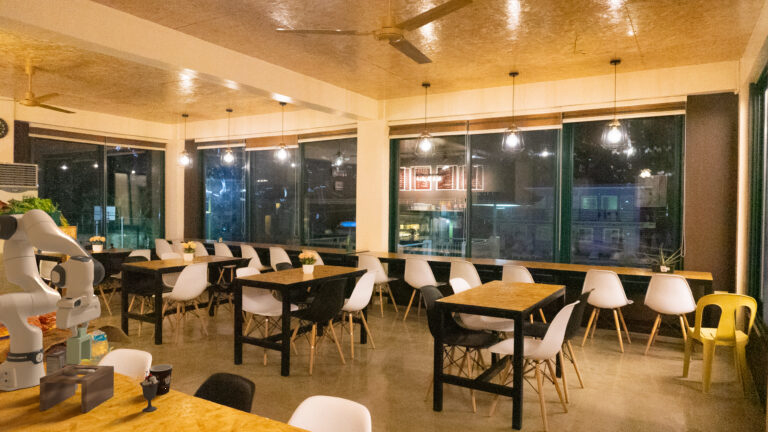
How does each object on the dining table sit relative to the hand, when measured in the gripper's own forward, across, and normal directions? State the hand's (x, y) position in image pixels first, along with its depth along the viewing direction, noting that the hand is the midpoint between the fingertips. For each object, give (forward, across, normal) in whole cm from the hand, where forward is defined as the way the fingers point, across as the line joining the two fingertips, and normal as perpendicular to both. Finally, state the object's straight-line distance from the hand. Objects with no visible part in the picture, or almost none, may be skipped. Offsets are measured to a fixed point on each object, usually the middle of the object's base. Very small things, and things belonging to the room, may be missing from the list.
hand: (79, 334), depth 187 cm
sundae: (+26, +3, +30) cm, 40 cm away
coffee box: (+27, -10, -14) cm, 32 cm away
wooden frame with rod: (+26, 0, 0) cm, 26 cm away
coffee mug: (+26, -13, +24) cm, 38 cm away
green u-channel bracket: (+10, 0, 0) cm, 10 cm away
